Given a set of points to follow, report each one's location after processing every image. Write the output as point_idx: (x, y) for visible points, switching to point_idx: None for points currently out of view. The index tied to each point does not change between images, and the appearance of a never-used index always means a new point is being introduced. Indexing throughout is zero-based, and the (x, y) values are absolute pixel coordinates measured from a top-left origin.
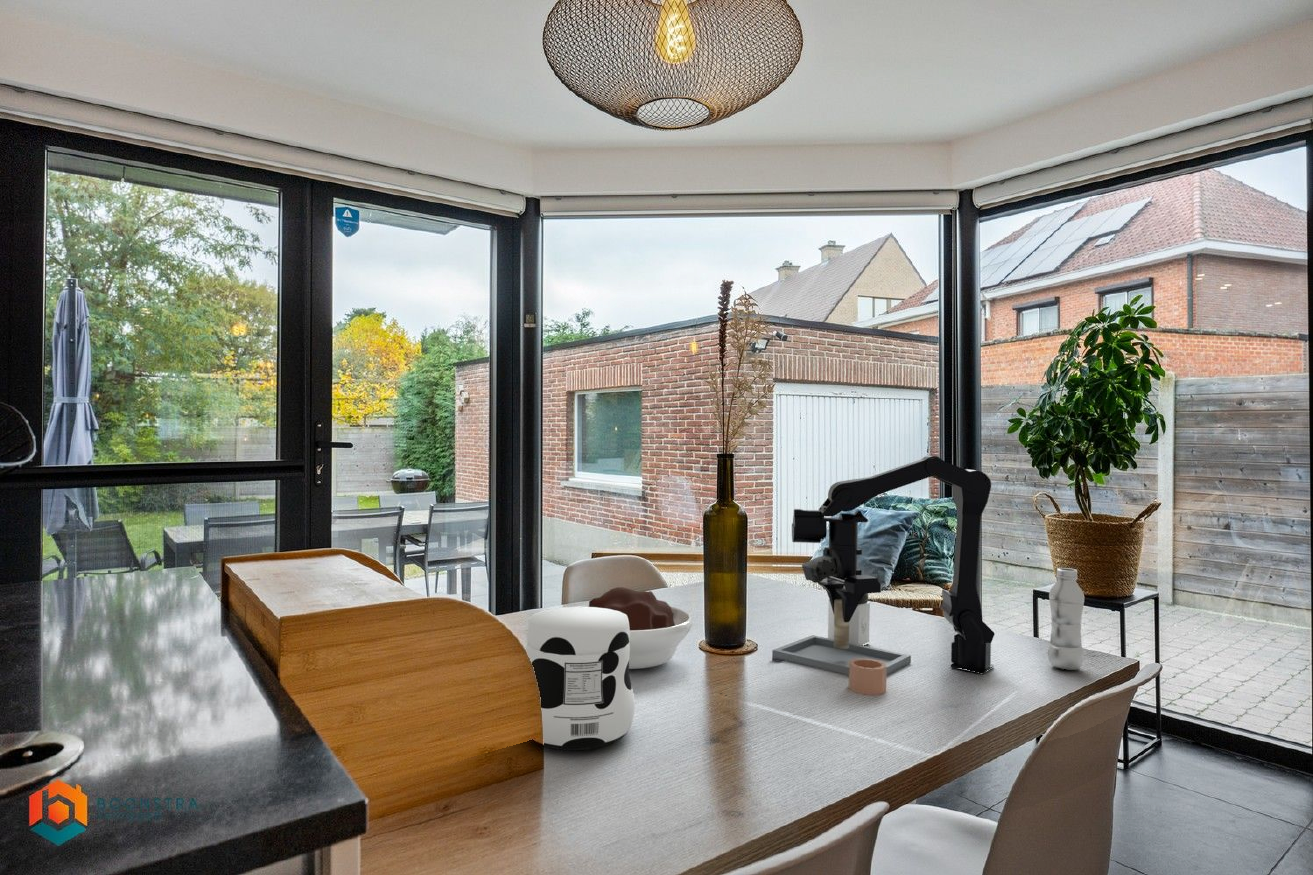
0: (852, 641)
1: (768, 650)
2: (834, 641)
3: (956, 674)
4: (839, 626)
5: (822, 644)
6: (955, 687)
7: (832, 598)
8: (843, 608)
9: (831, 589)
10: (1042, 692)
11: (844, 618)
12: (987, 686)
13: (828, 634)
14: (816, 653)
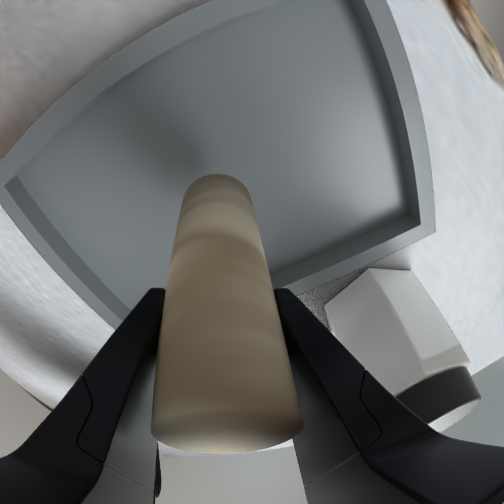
0: (340, 306)
1: (441, 46)
2: (224, 185)
3: (82, 357)
4: (185, 243)
5: (386, 225)
6: (10, 313)
7: (334, 412)
8: (115, 363)
9: (374, 496)
10: (22, 377)
11: (141, 301)
12: (28, 351)
13: (418, 281)
14: (324, 142)
